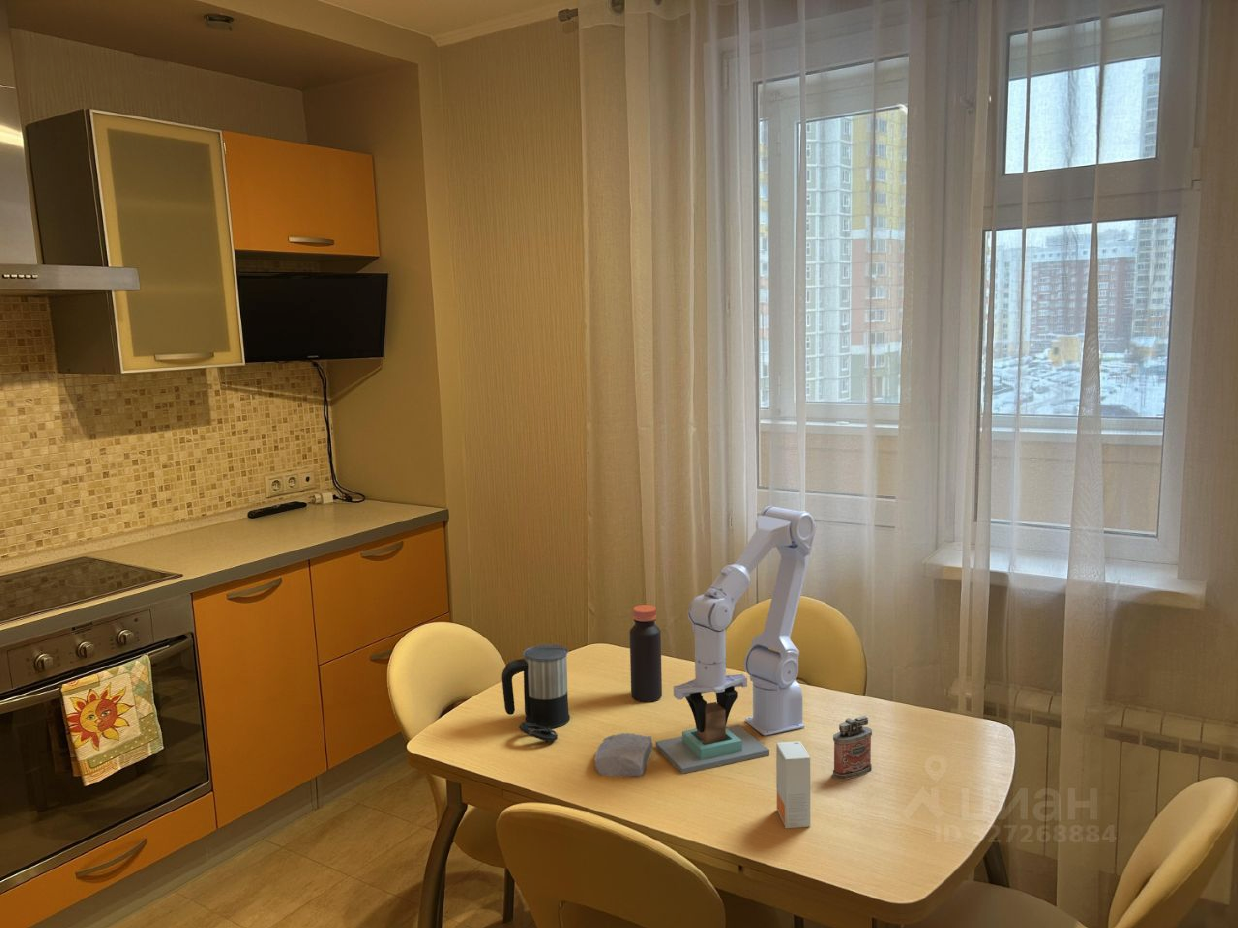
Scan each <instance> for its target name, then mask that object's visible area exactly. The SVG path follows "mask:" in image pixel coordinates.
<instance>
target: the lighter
mask: <svg viewBox="0 0 1238 928" xmlns="http://www.w3.org/2000/svg"><path fill="white" fill-rule="evenodd" d="M868 724H869V718H868V717H867V716H866V715H863V716H859V717H856V718H854V719H853V718H849V717H847V718H846V720H845V721H843V722H841V723H839V724H838V725H839V727H838V730H839V732H836V733H834V734H833V736H832V740H833V769H832V776H833V778H834V779H837V780H839V781H840V780H841V781H842V780H843V781H844V780H850V779H853V778H857V777H861V776H863V775H865V774H868V773H870V772H872V766H873V765H872V763H871V757H872V753H871V752H872V736H873V729H872V728H871V727H869V726H866V725H868Z"/></svg>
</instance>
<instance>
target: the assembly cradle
mask: <svg viewBox="0 0 1238 928" xmlns="http://www.w3.org/2000/svg"><path fill="white" fill-rule="evenodd" d="M655 748H656V749H657V750H658V751H659V752H660V753H661V754H662V755H663V756H664V757H665V759H667V760H668V761H669V762H670V763H671V764H672V765H673V766H674V767H675V768H676V769H677V770H678V771H679V772H680V773H681V774H682V775H684V774H685V775H686V774H688V773H693V772H697V771H699V772H700V771H702V770H703V771H704V770H707V769H711V768H717V767H720V766H726V765H730V764H735V763H739V762H742V761H747V760H751V759H758V758H760V757H761V758H762V757H766V756H770V749H769V748H767V747H766V745H764V744H762V743H761V741H759V740H758V739H756V738H755V737H754V736H753V735H751V734H750V733H749V732H747V731H746V730H745V729H744V728H743V727H741V726H740V725H739V724H735V725H732V726H726V740H723V741H718V742H713V743H709V744H706V743H705V742H704V741H703V740H702V739H701V738H700V737H699V736H697V728H696V727H695V728H691V729H686V730H682V731H681V736H678V737H672V738H668V739H662V740H658V741H657V740H656V741H655Z"/></svg>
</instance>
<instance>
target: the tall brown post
mask: <svg viewBox="0 0 1238 928" xmlns="http://www.w3.org/2000/svg"><path fill="white" fill-rule="evenodd" d="M726 727H727V725H726V715H725V709H724V708H723V707H721V706H720V705H719V704H718V703H717V701H713V702H712V701H711V702H707V705H706V710H705V730H704V732H700V731H699V730H698V729H697V736H699V737H700V738H701V739H702V740H703V741H704V742H705V743H706V744H709V743H713V742H718V741H723V740H726Z"/></svg>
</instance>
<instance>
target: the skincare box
mask: <svg viewBox="0 0 1238 928" xmlns="http://www.w3.org/2000/svg"><path fill="white" fill-rule="evenodd" d="M775 749H776V751H775V752H776V753H775V755H776V756H775V758H776V761H775V762H776V766H775V767H776V775H775V776H776V778H775V779H776V784H775V785H776V787H775V788H776V811H777V812H778V814H779V816H780V819H781V821H782V823H783V825H784V827H785V828H786V829H795V828H797V829H798V828H809V827H811V757H810V755H809V753H808V752H807V749H806V748H805V747H804V745H803V743H802V741H800V740H799V741H798V740H796V741H783V742H782V741H781V742H776V747H775Z"/></svg>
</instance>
